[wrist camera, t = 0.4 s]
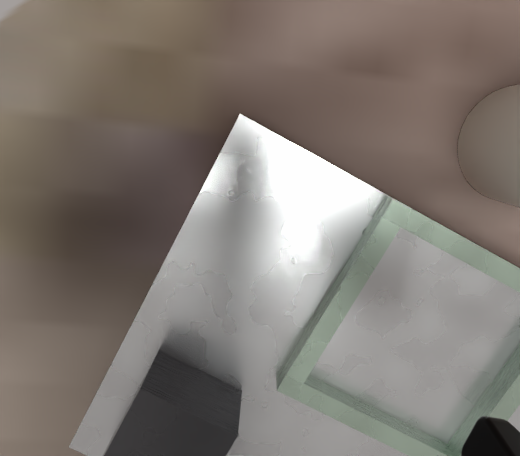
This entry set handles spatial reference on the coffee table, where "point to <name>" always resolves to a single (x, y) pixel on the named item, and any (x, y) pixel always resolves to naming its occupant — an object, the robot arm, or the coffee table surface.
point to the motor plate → (310, 323)
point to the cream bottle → (493, 146)
